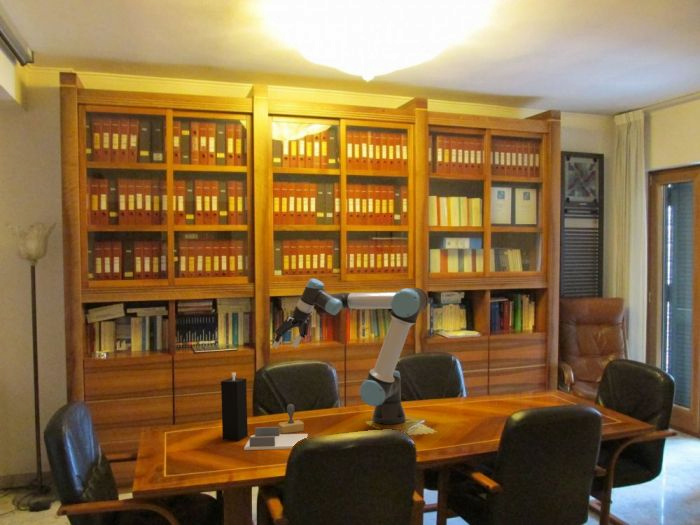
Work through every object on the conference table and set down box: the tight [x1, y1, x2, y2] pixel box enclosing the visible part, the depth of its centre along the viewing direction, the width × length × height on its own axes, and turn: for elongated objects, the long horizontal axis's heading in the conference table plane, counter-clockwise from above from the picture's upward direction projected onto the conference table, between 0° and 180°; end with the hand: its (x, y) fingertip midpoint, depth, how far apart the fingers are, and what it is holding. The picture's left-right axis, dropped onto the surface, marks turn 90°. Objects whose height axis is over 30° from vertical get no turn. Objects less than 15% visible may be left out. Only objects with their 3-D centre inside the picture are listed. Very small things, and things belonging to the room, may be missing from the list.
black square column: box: [220, 371, 249, 442], centre depth 233 cm, size 8×8×28 cm
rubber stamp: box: [278, 403, 305, 434], centre depth 241 cm, size 10×6×12 cm, turn 115°
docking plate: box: [243, 426, 309, 451], centre depth 225 cm, size 24×16×4 cm, turn 90°
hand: (284, 347), depth 262 cm, fingers open, 13 cm apart
